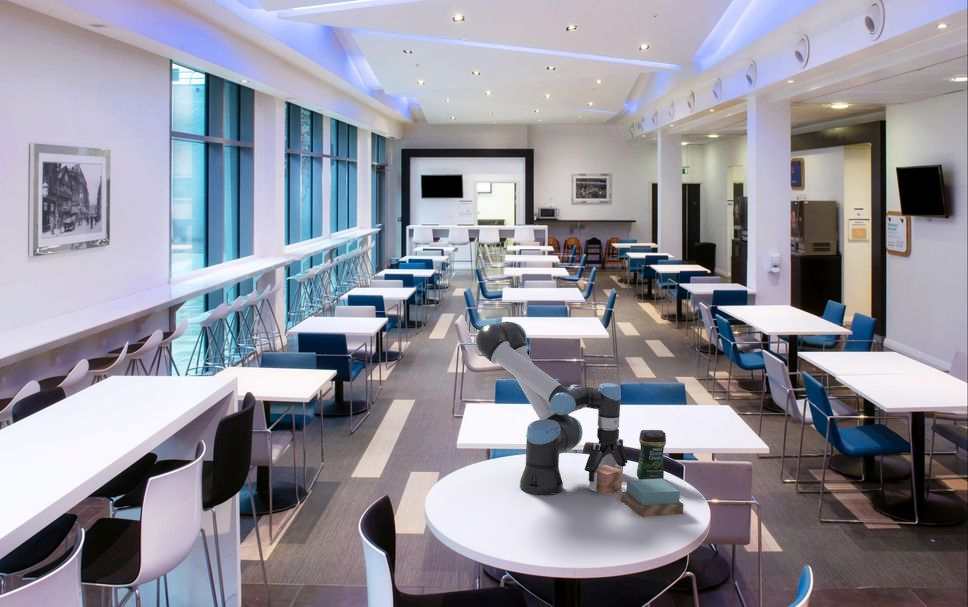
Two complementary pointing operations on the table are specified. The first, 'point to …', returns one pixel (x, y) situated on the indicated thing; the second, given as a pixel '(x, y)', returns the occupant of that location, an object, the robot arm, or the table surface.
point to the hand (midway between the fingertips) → (605, 486)
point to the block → (608, 479)
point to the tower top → (653, 491)
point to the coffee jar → (651, 454)
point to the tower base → (651, 507)
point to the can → (608, 461)
